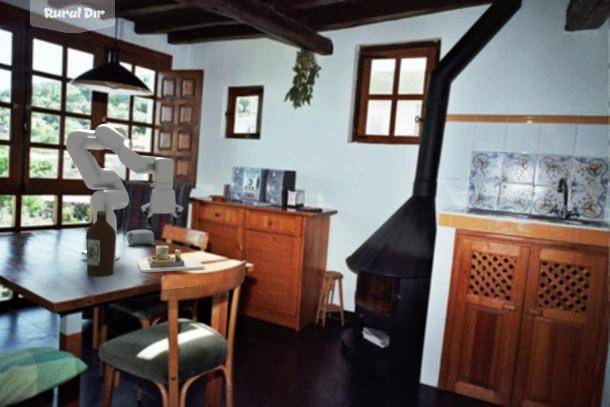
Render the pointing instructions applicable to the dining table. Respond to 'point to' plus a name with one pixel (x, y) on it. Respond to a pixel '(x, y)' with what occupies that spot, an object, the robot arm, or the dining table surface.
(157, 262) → the carriage
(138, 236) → the rolled grey towel
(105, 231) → the olive oil
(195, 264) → the index board
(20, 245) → the dining table surface
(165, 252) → the link block
